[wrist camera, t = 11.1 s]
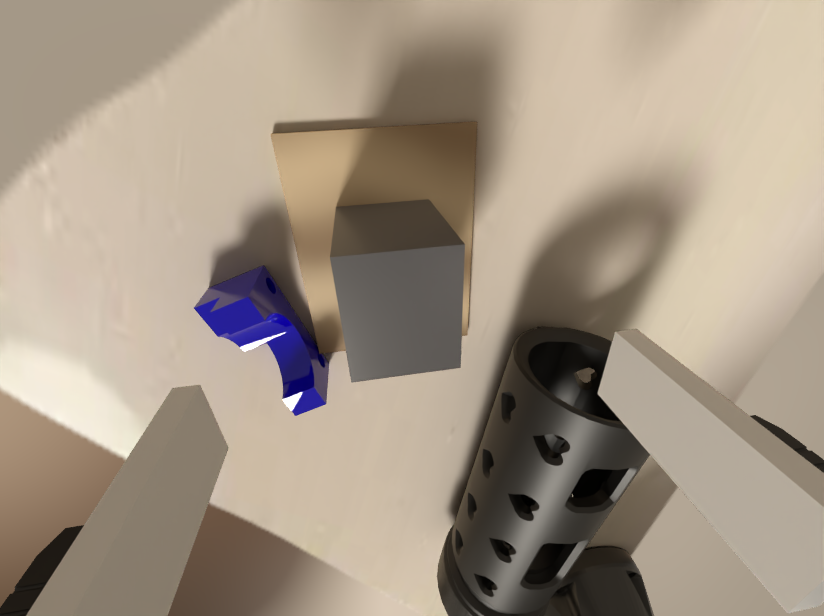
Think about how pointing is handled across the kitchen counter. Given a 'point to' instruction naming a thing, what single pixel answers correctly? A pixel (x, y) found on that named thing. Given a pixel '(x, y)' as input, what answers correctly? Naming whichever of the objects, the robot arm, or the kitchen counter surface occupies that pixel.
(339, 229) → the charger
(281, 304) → the cable holder
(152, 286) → the kitchen counter surface
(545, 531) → the muzzle brake
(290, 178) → the mat
